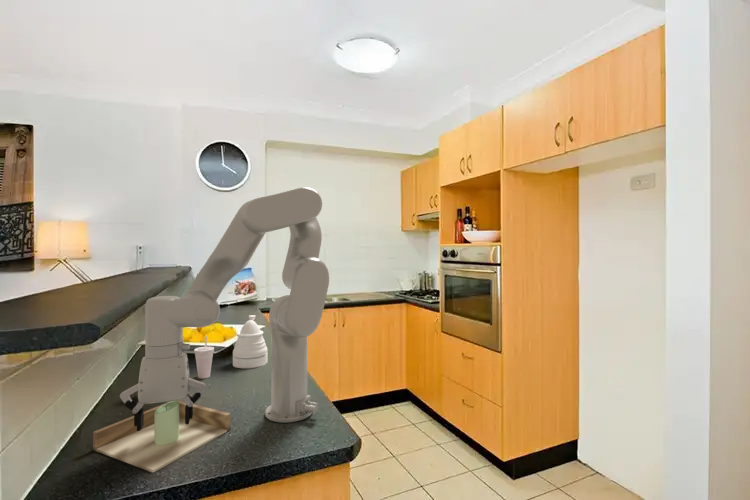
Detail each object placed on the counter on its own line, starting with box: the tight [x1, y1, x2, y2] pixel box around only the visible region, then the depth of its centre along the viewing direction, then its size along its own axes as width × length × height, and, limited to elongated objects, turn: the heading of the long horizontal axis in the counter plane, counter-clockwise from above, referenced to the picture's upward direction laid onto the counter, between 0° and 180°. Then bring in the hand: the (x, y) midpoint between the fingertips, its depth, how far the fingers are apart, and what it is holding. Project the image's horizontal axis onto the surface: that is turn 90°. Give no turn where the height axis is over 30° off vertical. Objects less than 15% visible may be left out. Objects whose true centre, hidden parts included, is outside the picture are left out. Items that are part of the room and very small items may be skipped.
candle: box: [154, 400, 180, 445], centre depth 88 cm, size 5×5×8 cm
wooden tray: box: [92, 400, 231, 474], centre depth 89 cm, size 20×20×4 cm
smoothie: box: [193, 335, 215, 379], centre depth 133 cm, size 6×6×14 cm
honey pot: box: [232, 314, 269, 369], centre depth 149 cm, size 13×13×18 cm
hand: (164, 425), depth 88 cm, fingers open, 9 cm apart
